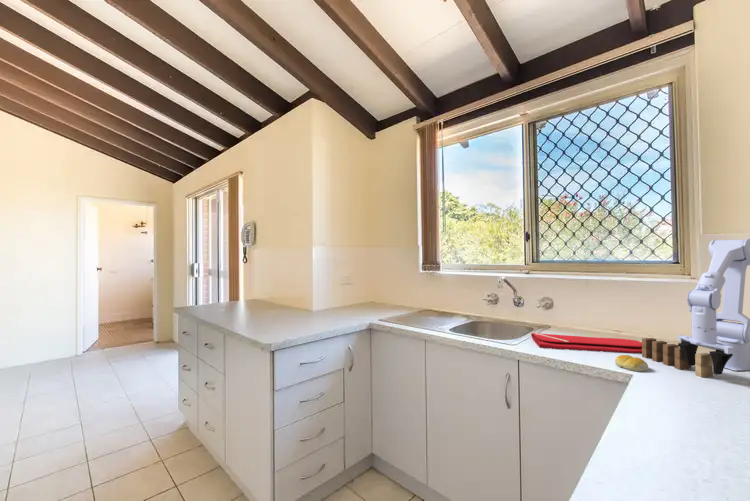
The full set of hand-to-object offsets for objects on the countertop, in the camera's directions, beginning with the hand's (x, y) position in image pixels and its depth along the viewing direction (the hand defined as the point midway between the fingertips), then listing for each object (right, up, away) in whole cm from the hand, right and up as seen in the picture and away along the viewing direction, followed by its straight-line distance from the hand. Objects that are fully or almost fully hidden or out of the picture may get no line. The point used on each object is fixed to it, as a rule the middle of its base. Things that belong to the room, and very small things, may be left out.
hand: (704, 369), depth 105 cm
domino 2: (-2, -2, +14) cm, 15 cm away
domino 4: (-1, -2, +6) cm, 7 cm away
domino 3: (-1, -2, +10) cm, 11 cm away
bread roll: (-17, -3, +8) cm, 19 cm away
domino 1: (-2, -2, +18) cm, 19 cm away
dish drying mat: (-16, -3, +34) cm, 37 cm away
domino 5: (0, -2, 0) cm, 2 cm away
